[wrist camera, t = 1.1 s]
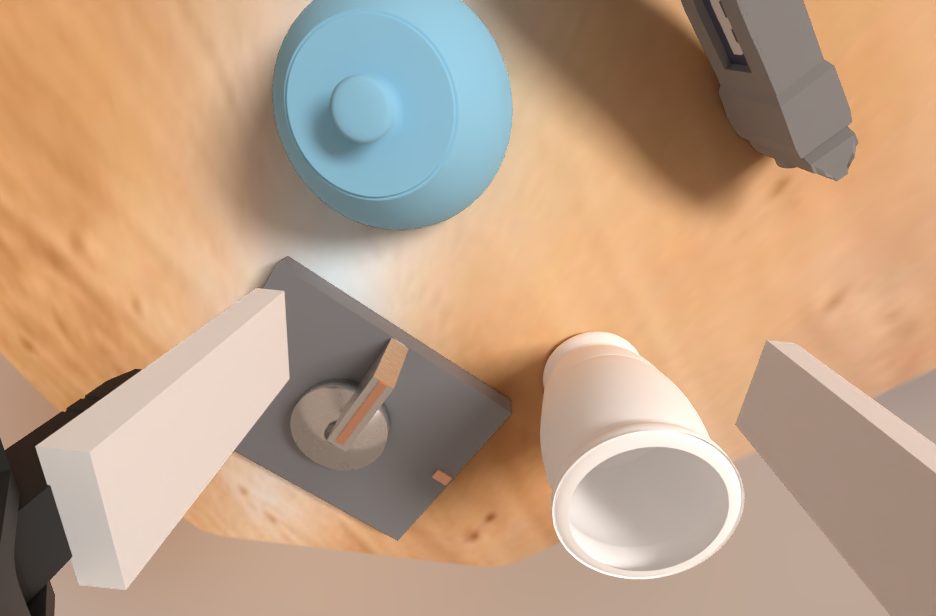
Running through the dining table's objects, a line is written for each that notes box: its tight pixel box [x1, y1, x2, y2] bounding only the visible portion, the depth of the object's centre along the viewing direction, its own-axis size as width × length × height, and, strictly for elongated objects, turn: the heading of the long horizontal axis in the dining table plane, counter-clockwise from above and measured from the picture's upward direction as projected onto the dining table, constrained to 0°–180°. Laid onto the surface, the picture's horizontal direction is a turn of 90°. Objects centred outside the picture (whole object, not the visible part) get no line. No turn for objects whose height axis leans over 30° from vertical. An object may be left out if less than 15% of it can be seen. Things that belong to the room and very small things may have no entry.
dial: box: [290, 338, 408, 470], centre depth 36 cm, size 13×8×6 cm, turn 145°
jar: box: [540, 332, 744, 579], centre depth 32 cm, size 11×10×15 cm
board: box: [234, 256, 512, 541], centre depth 40 cm, size 22×18×2 cm
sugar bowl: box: [273, 0, 513, 230], centre depth 27 cm, size 15×15×12 cm
